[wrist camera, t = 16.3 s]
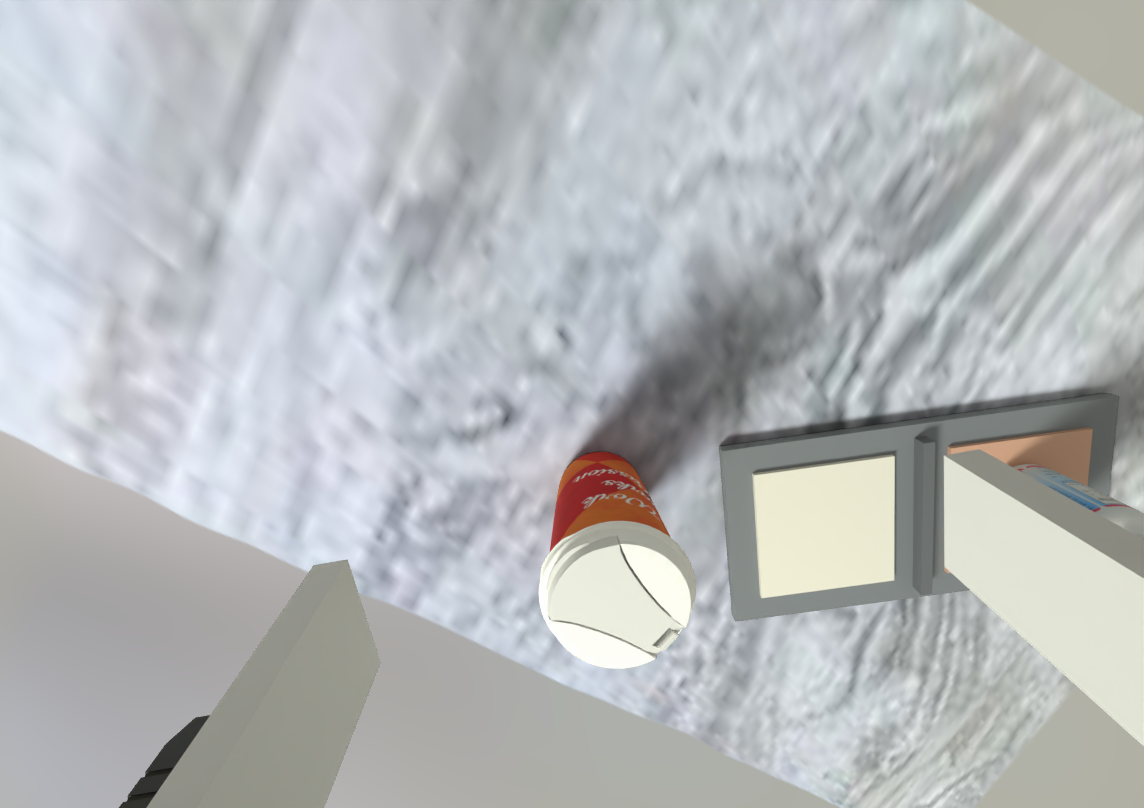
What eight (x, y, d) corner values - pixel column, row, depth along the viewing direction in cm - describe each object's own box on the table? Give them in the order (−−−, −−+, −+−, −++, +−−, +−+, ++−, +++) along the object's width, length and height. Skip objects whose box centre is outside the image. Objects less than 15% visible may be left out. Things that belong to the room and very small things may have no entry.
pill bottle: (983, 548, 46) (1114, 646, 35) (969, 477, 45) (1101, 556, 34) (1065, 522, 46) (1222, 613, 35) (1053, 449, 44) (1214, 520, 33)
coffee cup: (678, 480, 46) (735, 595, 31) (607, 559, 47) (629, 704, 33) (590, 412, 44) (607, 500, 30) (519, 496, 46) (502, 619, 31)
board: (718, 446, 45) (727, 457, 43) (1107, 392, 45) (1134, 400, 43) (731, 613, 49) (739, 631, 47) (1089, 565, 49) (1114, 581, 46)
